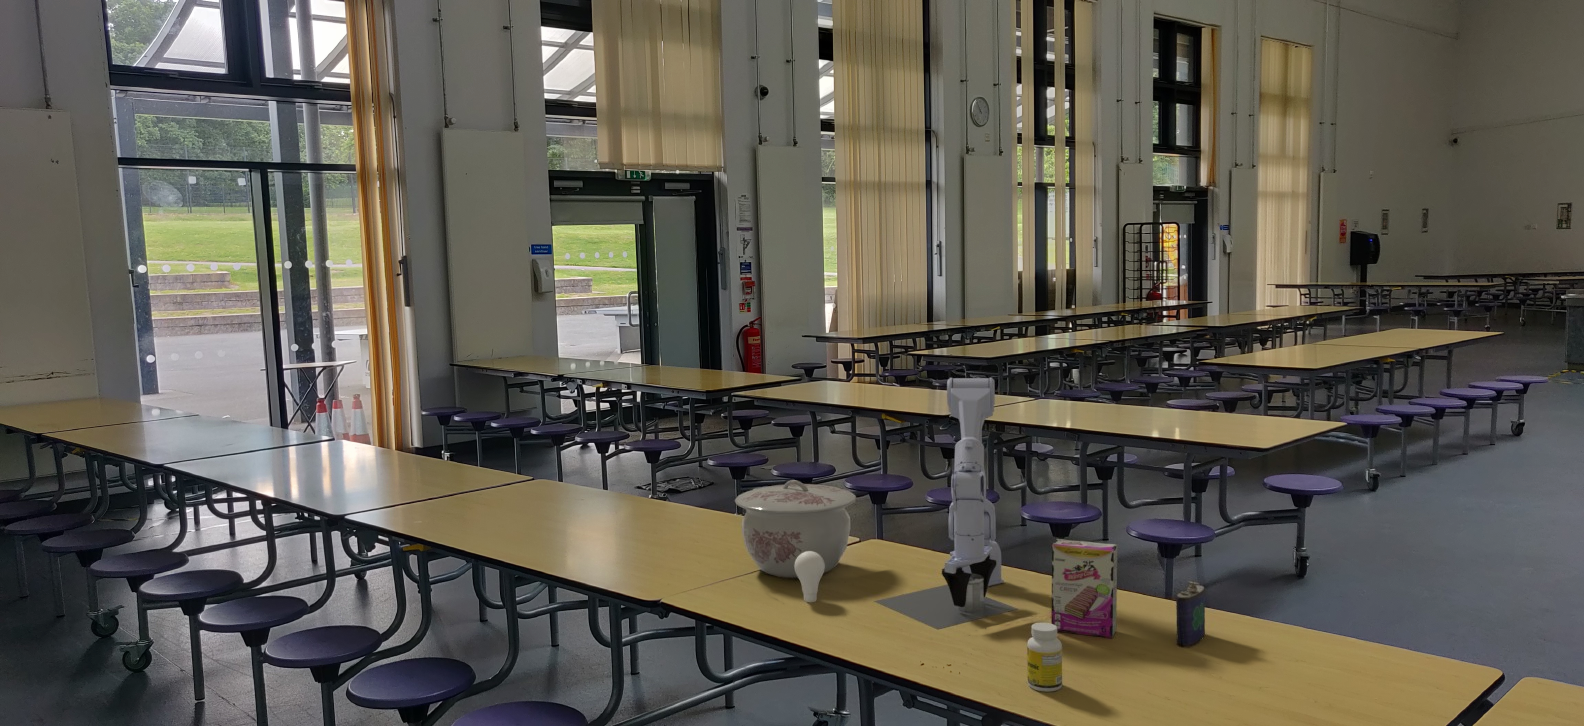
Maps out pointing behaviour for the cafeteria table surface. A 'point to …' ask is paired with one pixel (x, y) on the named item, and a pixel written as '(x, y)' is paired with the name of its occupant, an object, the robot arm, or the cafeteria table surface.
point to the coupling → (974, 595)
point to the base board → (940, 607)
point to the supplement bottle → (1044, 658)
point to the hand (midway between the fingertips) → (969, 600)
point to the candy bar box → (1084, 587)
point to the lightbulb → (809, 573)
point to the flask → (1190, 615)
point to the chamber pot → (795, 525)
